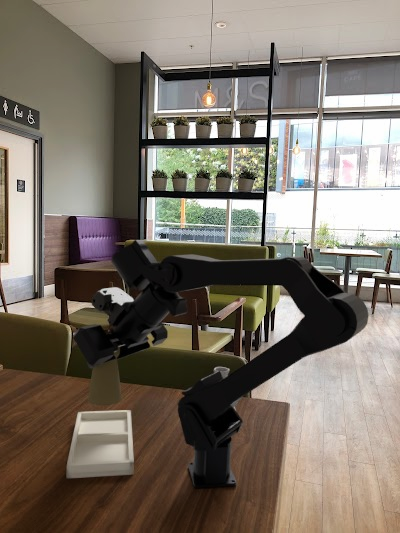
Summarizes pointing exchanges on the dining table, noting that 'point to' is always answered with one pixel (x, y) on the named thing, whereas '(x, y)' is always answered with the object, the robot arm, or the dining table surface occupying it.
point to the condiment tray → (101, 445)
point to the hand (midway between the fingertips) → (100, 362)
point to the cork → (105, 383)
